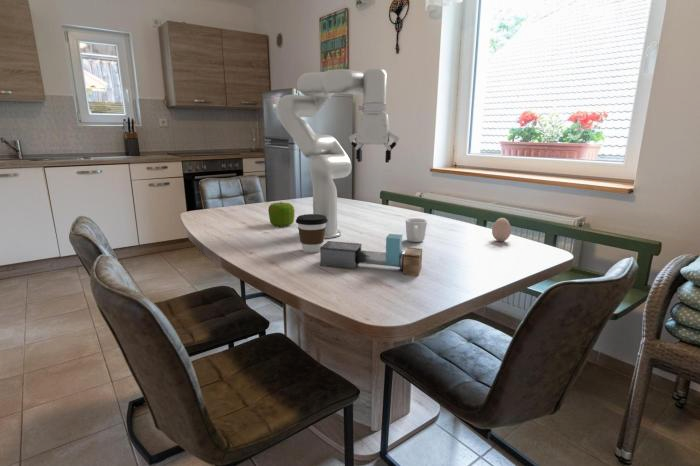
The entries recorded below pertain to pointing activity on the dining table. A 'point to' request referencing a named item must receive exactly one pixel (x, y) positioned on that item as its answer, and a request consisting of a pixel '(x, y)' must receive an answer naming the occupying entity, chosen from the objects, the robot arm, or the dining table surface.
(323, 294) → the dining table surface
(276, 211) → the apple
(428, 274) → the dining table surface
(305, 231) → the coffee cup
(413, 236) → the cup
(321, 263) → the sleeve
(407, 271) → the cardboard box
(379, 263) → the plug
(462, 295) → the dining table surface
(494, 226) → the egg
